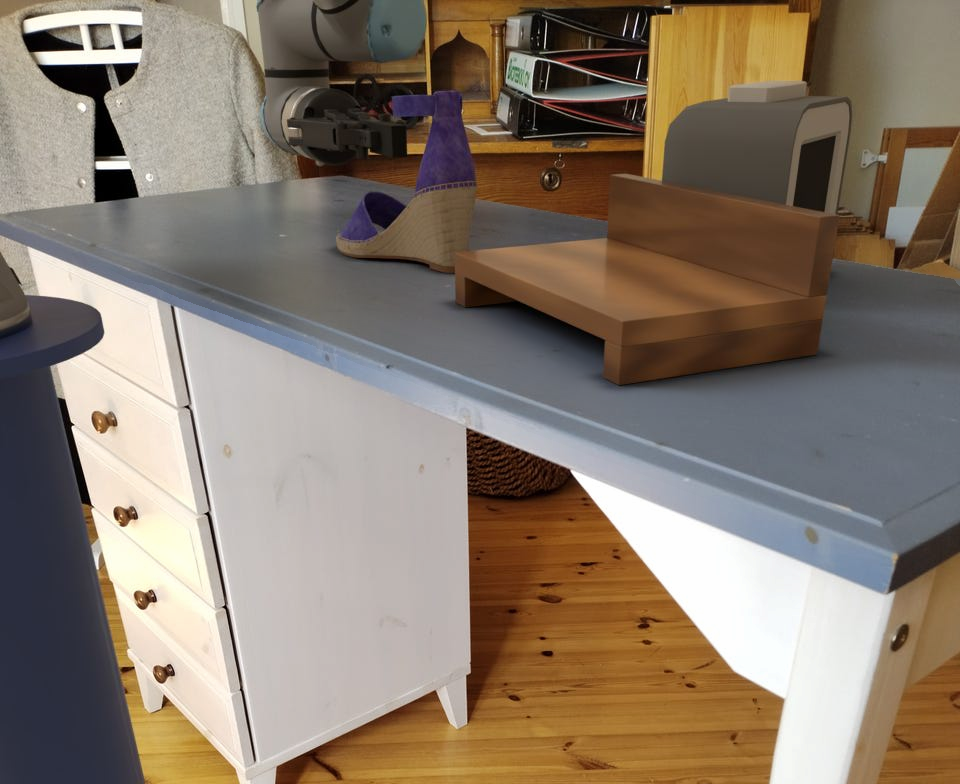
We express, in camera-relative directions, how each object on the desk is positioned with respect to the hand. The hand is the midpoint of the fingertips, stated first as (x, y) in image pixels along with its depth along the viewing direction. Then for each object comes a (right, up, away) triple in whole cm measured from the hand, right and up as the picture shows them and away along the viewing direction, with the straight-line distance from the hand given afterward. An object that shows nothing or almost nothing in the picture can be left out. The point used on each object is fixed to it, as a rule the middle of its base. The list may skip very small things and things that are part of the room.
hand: (399, 141), depth 95 cm
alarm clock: (+31, -15, -5) cm, 35 cm away
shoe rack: (+18, -23, -18) cm, 34 cm away
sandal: (0, -9, +6) cm, 11 cm away
